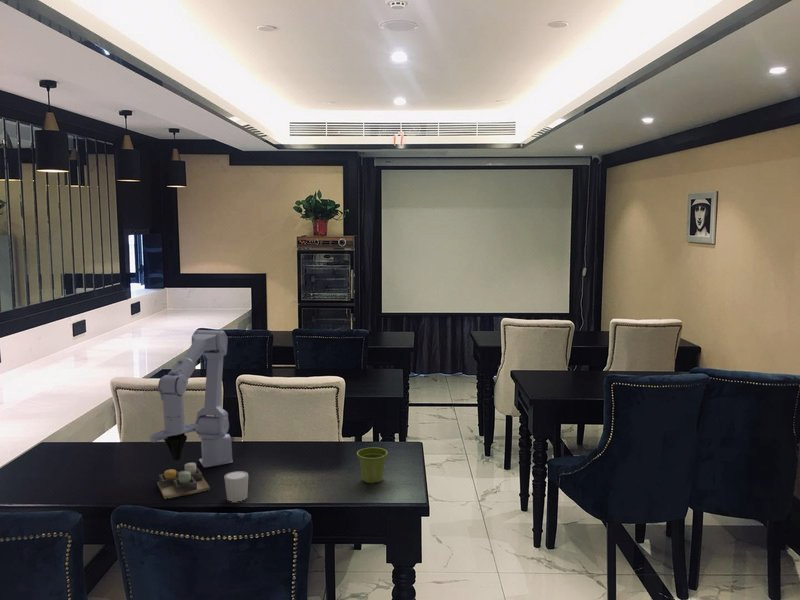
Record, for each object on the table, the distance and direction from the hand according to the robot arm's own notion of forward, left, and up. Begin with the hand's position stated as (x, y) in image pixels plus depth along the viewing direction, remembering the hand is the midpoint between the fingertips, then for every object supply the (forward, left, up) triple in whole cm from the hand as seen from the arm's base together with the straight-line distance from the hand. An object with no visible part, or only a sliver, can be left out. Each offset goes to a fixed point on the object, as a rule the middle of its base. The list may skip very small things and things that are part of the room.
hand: (176, 459), depth 206 cm
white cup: (-14, +16, -9) cm, 23 cm away
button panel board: (-2, 0, -9) cm, 9 cm away
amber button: (+1, -3, -8) cm, 8 cm away
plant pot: (-54, +23, -9) cm, 59 cm away
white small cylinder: (-5, -3, -6) cm, 9 cm away
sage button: (-2, +3, -7) cm, 7 cm away
